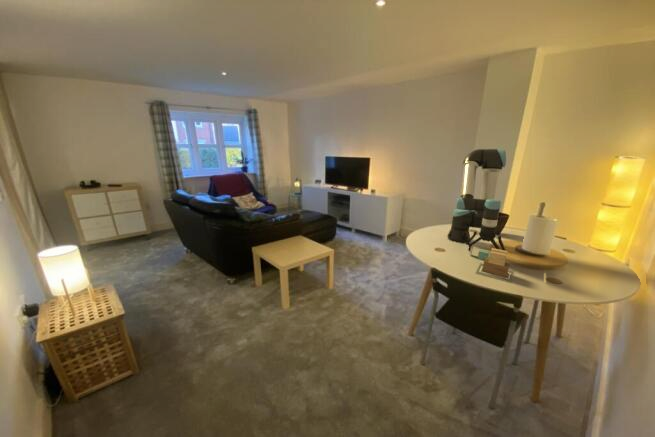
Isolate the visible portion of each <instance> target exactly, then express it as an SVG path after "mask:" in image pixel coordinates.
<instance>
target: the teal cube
mask: <svg viewBox="0 0 655 437" xmlns="http://www.w3.org/2000/svg"><path fill="white" fill-rule="evenodd" d="M489 256H490V251H487V250H486V251H485V250H481V249H480V250H479V251H478V252H477V259H478V260H482V261H483V260H485V258H489Z"/></svg>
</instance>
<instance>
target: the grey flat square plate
mask: <svg viewBox="0 0 655 437" xmlns="http://www.w3.org/2000/svg"><path fill="white" fill-rule="evenodd" d="M483 264H484V263H482V262H481V263H479V265H478V267H477V269H476V271H475V272H474V274H476V275H478V276H483V277H486V278H490V279H494V280H498V281H501V282H505V283H509V284H512V283H513V277H514V274H515V271H514V270H511V269H508V274H507V278H506V277H502V276H498V275H495V274H491V273H487V272H483V271H482V270H483Z"/></svg>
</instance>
